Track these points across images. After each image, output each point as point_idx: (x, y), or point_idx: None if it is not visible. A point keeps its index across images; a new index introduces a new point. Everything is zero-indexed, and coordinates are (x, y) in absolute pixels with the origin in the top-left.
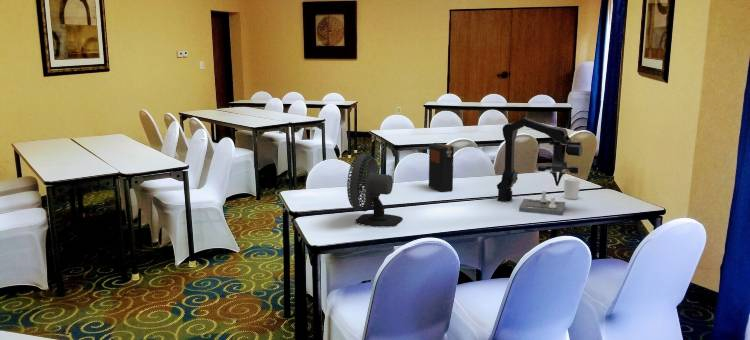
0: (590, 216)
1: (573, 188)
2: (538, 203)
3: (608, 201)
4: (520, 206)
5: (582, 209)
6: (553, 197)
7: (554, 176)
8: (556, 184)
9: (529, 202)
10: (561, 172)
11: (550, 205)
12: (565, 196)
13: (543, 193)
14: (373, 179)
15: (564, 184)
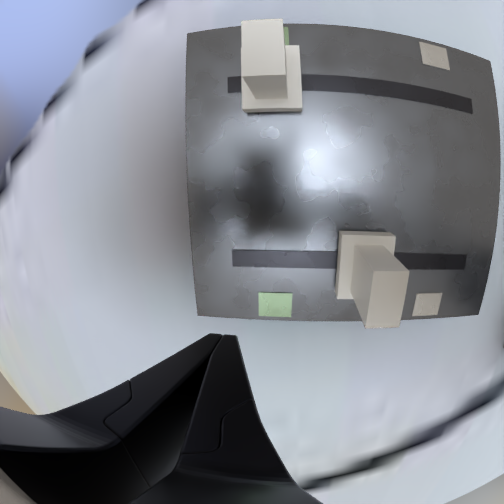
0: (59, 111)
1: None
2: (399, 202)
3: (71, 404)
4: (490, 83)
5: (101, 248)
6: (255, 31)
7: (243, 454)
8: (227, 342)
9: (459, 216)
10: (4, 488)
11: (287, 61)
12: None
13: (390, 264)
14: None
15: None
